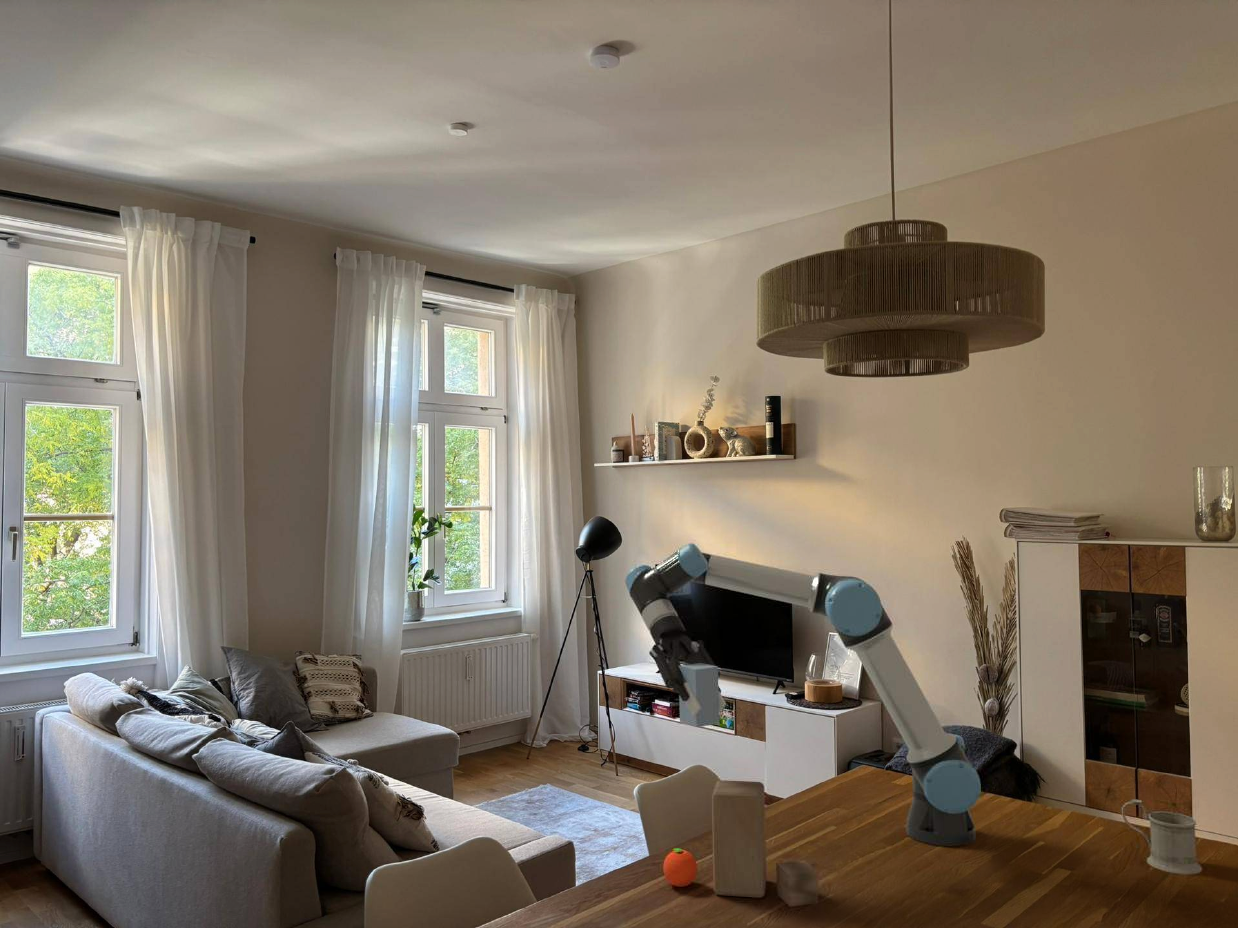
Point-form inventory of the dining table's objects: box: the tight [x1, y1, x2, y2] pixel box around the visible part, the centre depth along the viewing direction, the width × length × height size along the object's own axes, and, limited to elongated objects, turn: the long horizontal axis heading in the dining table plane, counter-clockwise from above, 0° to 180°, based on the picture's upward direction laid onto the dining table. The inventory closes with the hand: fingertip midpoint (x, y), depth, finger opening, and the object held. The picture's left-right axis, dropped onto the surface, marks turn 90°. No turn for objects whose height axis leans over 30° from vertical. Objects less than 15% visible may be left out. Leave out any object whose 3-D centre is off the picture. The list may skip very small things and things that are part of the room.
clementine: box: [662, 847, 698, 888], centre depth 184 cm, size 8×7×7 cm
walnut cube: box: [775, 859, 819, 907], centre depth 177 cm, size 6×6×6 cm
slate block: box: [678, 663, 720, 728], centre depth 194 cm, size 6×6×12 cm
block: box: [711, 779, 767, 899], centre depth 182 cm, size 10×10×20 cm
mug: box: [1121, 799, 1203, 875], centre depth 192 cm, size 14×10×12 cm
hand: (709, 709), depth 191 cm, fingers closed on slate block, 6 cm apart
